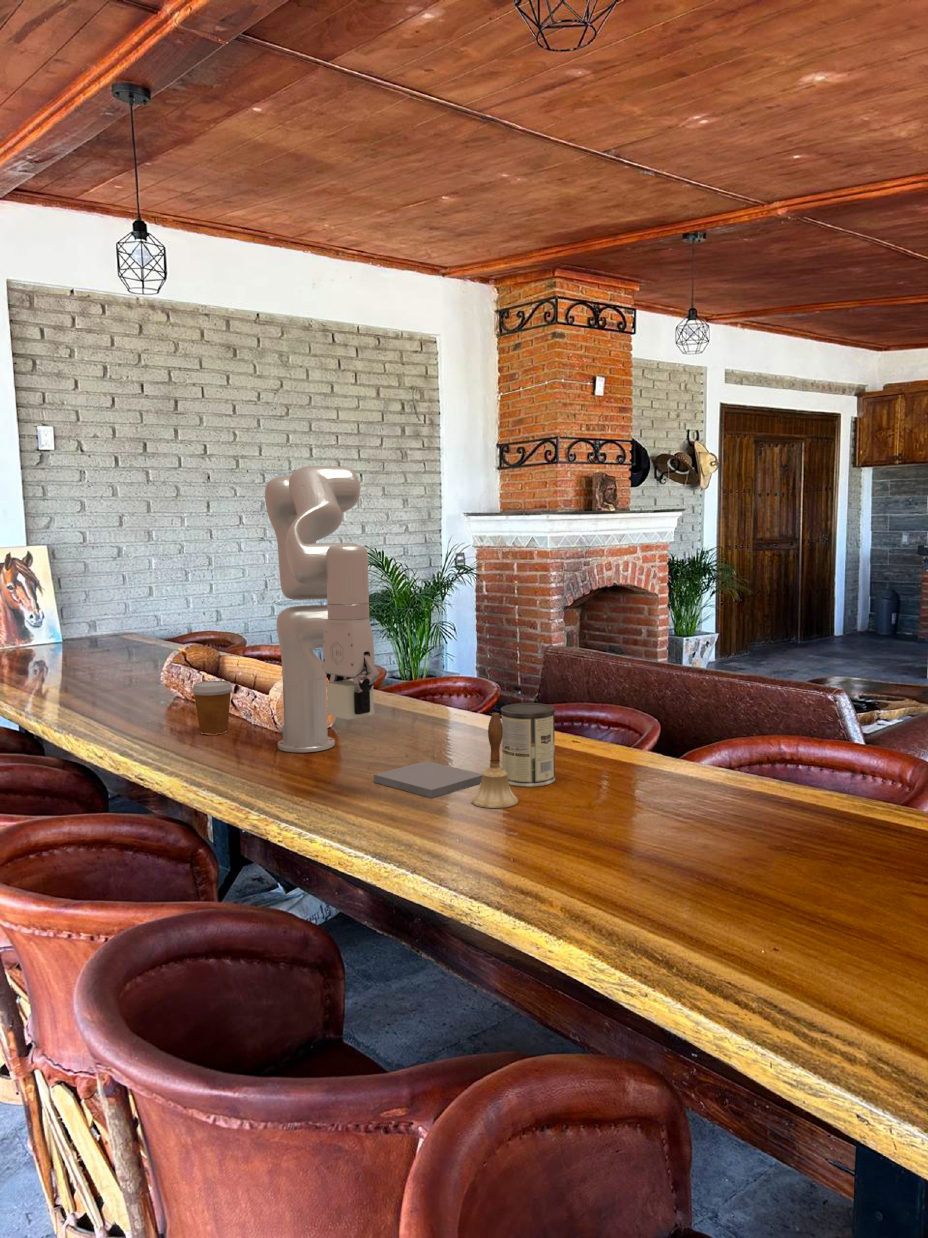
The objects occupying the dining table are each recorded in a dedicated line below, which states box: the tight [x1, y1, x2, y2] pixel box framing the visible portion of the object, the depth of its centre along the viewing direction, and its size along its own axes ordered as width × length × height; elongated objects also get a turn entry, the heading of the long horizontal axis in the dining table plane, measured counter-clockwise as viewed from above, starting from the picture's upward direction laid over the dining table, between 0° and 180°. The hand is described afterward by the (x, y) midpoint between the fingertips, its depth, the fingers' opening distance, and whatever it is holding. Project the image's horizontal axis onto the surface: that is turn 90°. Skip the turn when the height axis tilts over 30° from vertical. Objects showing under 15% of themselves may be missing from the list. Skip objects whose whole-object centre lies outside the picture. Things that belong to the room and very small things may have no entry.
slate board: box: [373, 760, 482, 799], centre depth 180 cm, size 16×14×2 cm
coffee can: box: [500, 702, 556, 788], centre depth 180 cm, size 10×10×14 cm
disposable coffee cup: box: [191, 680, 233, 734], centre depth 226 cm, size 10×10×12 cm
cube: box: [326, 678, 375, 720], centre depth 172 cm, size 6×6×6 cm
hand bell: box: [471, 712, 519, 809], centre depth 166 cm, size 8×8×16 cm
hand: (350, 710), depth 173 cm, fingers closed on cube, 6 cm apart
